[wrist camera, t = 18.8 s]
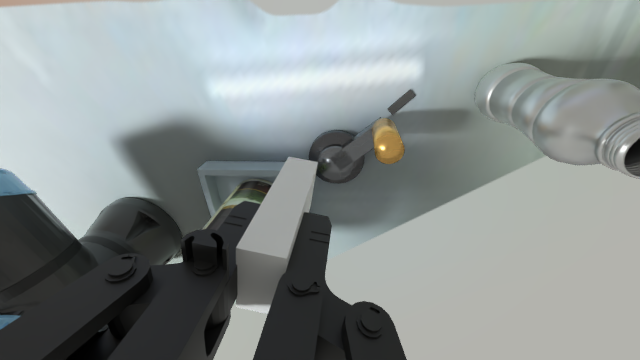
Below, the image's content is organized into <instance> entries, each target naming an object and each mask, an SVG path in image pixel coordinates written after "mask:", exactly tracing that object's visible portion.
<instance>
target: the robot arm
mask: <svg viewBox="0 0 640 360" xmlns="http://www.w3.org/2000/svg"><path fill="white" fill-rule="evenodd" d="M317 164H318V162H315V161H310V160H304V159H299V158H294V157H288V159H287V160H286V162H285V164H284V165H283V167H282V169H281V171H280V172H279V174H278V176H277V178H276V179H275V181H274V183H273V184H272V186H271V188H270V190H269V191H268V193H267V195H266V197H265V198H264V200H263V202H262V203H261V204H259V203H254V202H249V201H243V202H241V203H240V204H238V205H236V206H235V207H234V208H233V209H232V211H231V212H230V213H229V215H228V216H227V218H226V219H225V220H224V222H223V223H222V224H221V226H220V227H219V229H218V230H214V229H202V230H196V231H194V232H192V233H189V234H187V235H186V236H185V237H183V238H182V236H181V233H180V230H179V228H178V226H177V225H176V223H175V222H174V221H173V219H172V218H171V217H170V216H169V215H168V214H167V213H165V212H164V211H163V210H162V209H160V208H159V207H157V206H155V205H154V204H152V203H149V202H147V201H144V200H141V199H137V198H122V199H118V200H116V201H114V202H113V203H111V204H110V205H108V206H107V207H106V208H104V209H103V210H102V211H101V213H100V215H99V216H98V218H97V219H96V220H95V222H94V223H93V224H92V225H91V227H90V228H89V230H88V231H87V232H86V234H85V235H84V236H83V237H82V238H80V239H79V240H77V239H76V238H75V236H74V235H73V234H72V233H71V232H70V231H69V230H68V229H67V228H66V227H65V226H64V225H63V224H62V223H61V221H60V220H59V219H58V218H57V217H56V216H55V215H54V214H53V213H52V212H51V211H50V210H49V208H48V207H47V206H46V205H45V204H44V203H43V202H42V201H41V200H40V199H39V197H38V196H37V195H36V194H37V193H36V192H35V191H33V190H31V189H30V188H28V187H27V186H26V185H25V184H24V183H23V182H22V181H21V180H20V179H19V178H18V177H17V176H16V175H15V174H13V173H12V172H10V171H8V170H5V169H2V168H0V360H213V358H214V356H215V354H216V351H217V349H218V347H219V345H220V342H221V340H222V338H223V336H224V334H225V331H226V329H227V327H228V325H229V321H230V317H231V315H230V310H231V308H232V306H233V304H234V302H235V300H236V306H237V307H238V308H243V309H247V310H252V311H257V312H261V313H266V314H268V315H267V318H266V321H265V324H264V327H263V331H262V334H261V337H260V340H259V343H258V346H257V349H256V352H255V355H254V358H253V360H407V359H406V357H405V354H404V351H403V348H402V345H401V343H400V340H399V337H398V334H397V332H396V329H395V326H394V323H393V321H392V320H391V318H390V316H389V314H388V313H387V312H386V311H385V310H383V309H382V308H381V307H380V306H378V305H375V304H374V303H371V302H365V301H363V302H357V303H355V304H354V305H350V304H348V303H347V302H345V301H343V300H341V299H339V298H338V297H337V296H335V295H334V294H333V293H332V292H331V291H330V290H329V288H328V286H327V284H326V281H325V269H326V262H327V255H328V248H329V241H330V234H331V227H332V225H331V223H330V220H329V218H328V217H327V216H322V215H317V214H312V213H309V210H310V207H311V201H312V195H313V189H314V183H315V177H316V171H317ZM180 248H181V249H182V256H183V262H182V263H177V264H167V263H168V262H169V261H171V260H172V259H173V258H174V256H175V255H176V254H177V253H178V252H179V250H180ZM165 264H166V265H165Z"/></svg>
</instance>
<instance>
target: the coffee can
mask: <svg viewBox="0 0 640 360" xmlns="http://www.w3.org/2000/svg"><path fill="white" fill-rule="evenodd" d="M272 184H273V183H271V182H269V181H267V180H263V179H248V180H245V181H243V182H241V183H240V184H238V185H237V186H236V188H235V189H234V191H233V192H232V193H231V194H230V196H229V197H228V198H227V199H226V200H225V202H224V203H223V204H222V205H221V206H220V208H219V209H218V210H217V211H216V212H215V214H214V215H213V216H212V217H211V218H210V220H209V221H208V222H207V223H206V225H205V226H204V227H203V228H202V229H214V230H218V229H219V227H220V226H221V224H222V223H223V222H224V220H225V219H226V218H227V216H228V215H229V213H230V212H231V211H232V209H233V208H234V207H235V206H236V205H238V204H240V203H241V202H243V201H249V202H254V203H259V204H261V203H262V202H263V200H264V198H265V197H266V195H267V193H268V191H269V190H270V188H271V186H272ZM202 229H201V230H202Z"/></svg>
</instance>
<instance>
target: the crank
mask: <svg viewBox="0 0 640 360" xmlns="http://www.w3.org/2000/svg"><path fill="white" fill-rule="evenodd" d="M373 148H374V150H375V155H376V158H377V159H378V160H379V161H380V162H382V163H385V164H392V163H395V162H397V161H399V160H400V159H401V158H402V156H403V154H404V150H405V149H404V145H403V142H402V140H401V137H400V135H399V133H398V130H397V128H396V125H395V123H394V122H393V121H392V120H390V119H388V118H381V117H380V118H379V119H377V120H376V121H375V122H373V123H372V124H371V125H369V126H368V127H367V128H365V129H364V130H363V131H361V132H360V133H358V134H357V135H356V136H354V137H353V138H352V139H350V140H349V141H348V142H346V143H345V144H344V145H341V144H331V145H328V146H326V147H325V148H323V150H322V151H321V152H320V155H319V158H318V164H317V165H318V169H319V171H320V173H321V174H322V175H323V176H324V177H326V178H327V179H330V180H342V179H344V178H346V177H347V176H348V175H349V174H350V173H351V172H352V169H353V162H354V161H355V160H357V159H358V158H360V157H361V156H363V155H364V154H365V153H367V152H368V151H370V150H371V149H373Z"/></svg>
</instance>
